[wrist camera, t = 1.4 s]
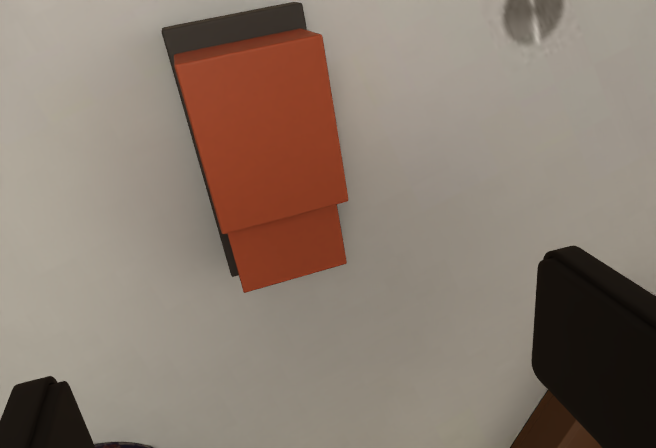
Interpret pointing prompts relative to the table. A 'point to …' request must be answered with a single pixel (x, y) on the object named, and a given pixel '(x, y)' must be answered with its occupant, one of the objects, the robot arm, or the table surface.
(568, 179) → the table surface
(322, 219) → the shoe
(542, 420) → the tray
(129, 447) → the storage jar
